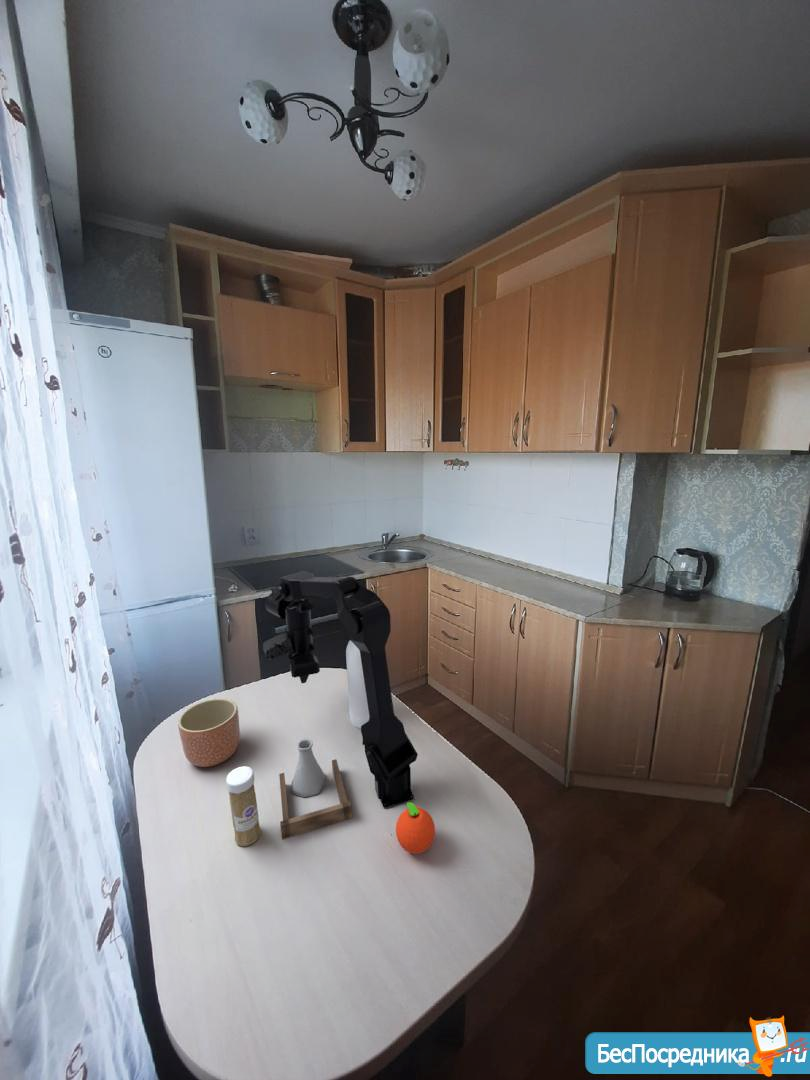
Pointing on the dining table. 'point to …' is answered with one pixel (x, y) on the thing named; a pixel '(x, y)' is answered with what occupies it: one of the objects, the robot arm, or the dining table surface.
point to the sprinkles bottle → (243, 805)
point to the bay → (318, 817)
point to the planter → (210, 731)
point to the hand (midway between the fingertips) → (303, 682)
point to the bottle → (356, 687)
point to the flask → (307, 772)
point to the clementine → (415, 829)
